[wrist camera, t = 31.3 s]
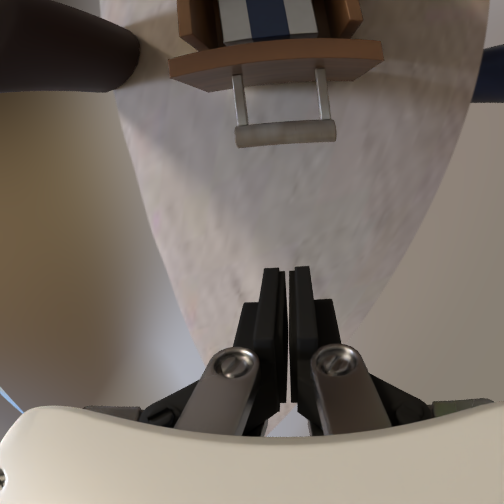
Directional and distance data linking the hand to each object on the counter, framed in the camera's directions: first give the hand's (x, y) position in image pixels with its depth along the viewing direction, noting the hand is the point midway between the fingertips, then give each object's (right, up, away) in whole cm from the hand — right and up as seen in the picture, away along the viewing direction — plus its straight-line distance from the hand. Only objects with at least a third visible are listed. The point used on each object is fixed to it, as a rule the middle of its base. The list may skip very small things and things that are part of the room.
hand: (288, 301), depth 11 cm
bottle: (-15, +20, +9) cm, 26 cm away
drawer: (0, +19, +6) cm, 20 cm away
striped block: (0, +18, +5) cm, 19 cm away
